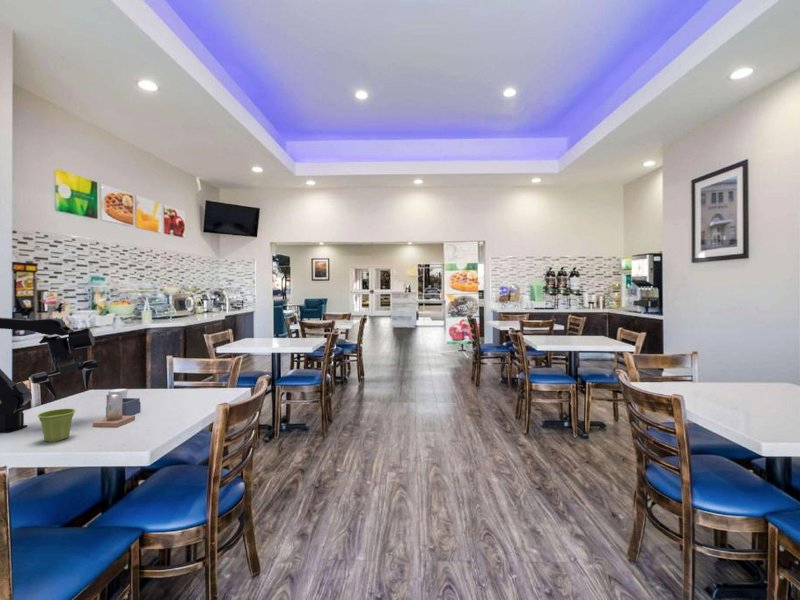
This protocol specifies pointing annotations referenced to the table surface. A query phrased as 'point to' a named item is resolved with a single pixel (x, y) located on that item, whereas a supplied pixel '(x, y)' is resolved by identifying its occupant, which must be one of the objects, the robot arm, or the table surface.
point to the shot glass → (123, 391)
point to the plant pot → (56, 424)
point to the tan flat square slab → (113, 422)
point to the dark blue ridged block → (130, 406)
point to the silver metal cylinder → (114, 407)
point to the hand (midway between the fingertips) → (71, 393)
